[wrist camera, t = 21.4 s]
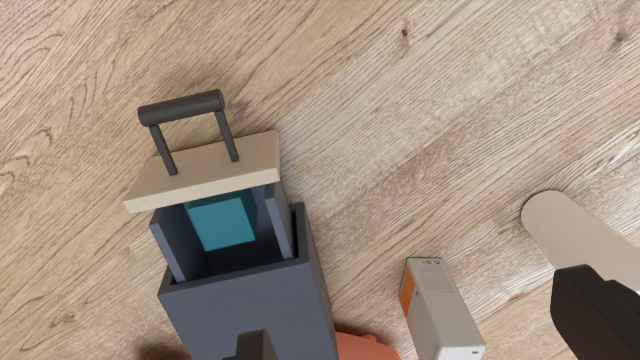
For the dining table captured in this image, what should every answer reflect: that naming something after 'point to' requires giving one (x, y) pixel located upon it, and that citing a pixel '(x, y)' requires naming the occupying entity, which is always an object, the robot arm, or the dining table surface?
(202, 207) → the teal block
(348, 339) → the teapot
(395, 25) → the dining table surface
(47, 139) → the dining table surface
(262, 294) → the storage box
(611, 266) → the drinking glass
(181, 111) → the drawer
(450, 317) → the cosmetic box
